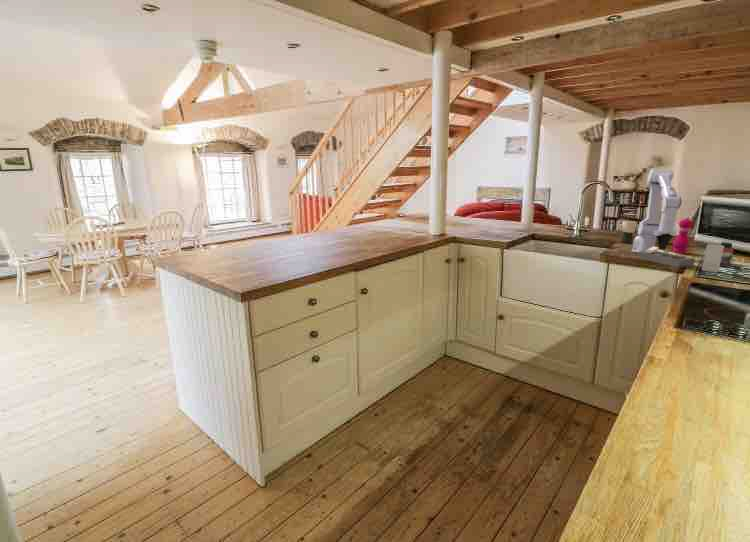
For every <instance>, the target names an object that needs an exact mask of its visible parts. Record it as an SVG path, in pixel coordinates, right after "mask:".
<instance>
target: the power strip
mask: <svg viewBox="0 0 750 542" xmlns="http://www.w3.org/2000/svg"><path fill="white" fill-rule="evenodd" d="M637 257H640V258H643V259H646V260H645V261H647V260H650V261H649V262H652V261H653V262H652V263H655V264H656V263H657V264H662V265H665V266H671V267H673V268H677V269H679V268H684V267H685V268H686V267H693V266H694V264H695V261H696V259H695V257H691V256H690V257H689V256H685V255H682V257H678V256H674V255H671V254H670V255H668V254H664V253H661V252H658V251H655V252H653V253H648V252H646V251H638V253H637ZM637 257H636V258H637ZM643 259H642V260H643Z"/></svg>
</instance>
